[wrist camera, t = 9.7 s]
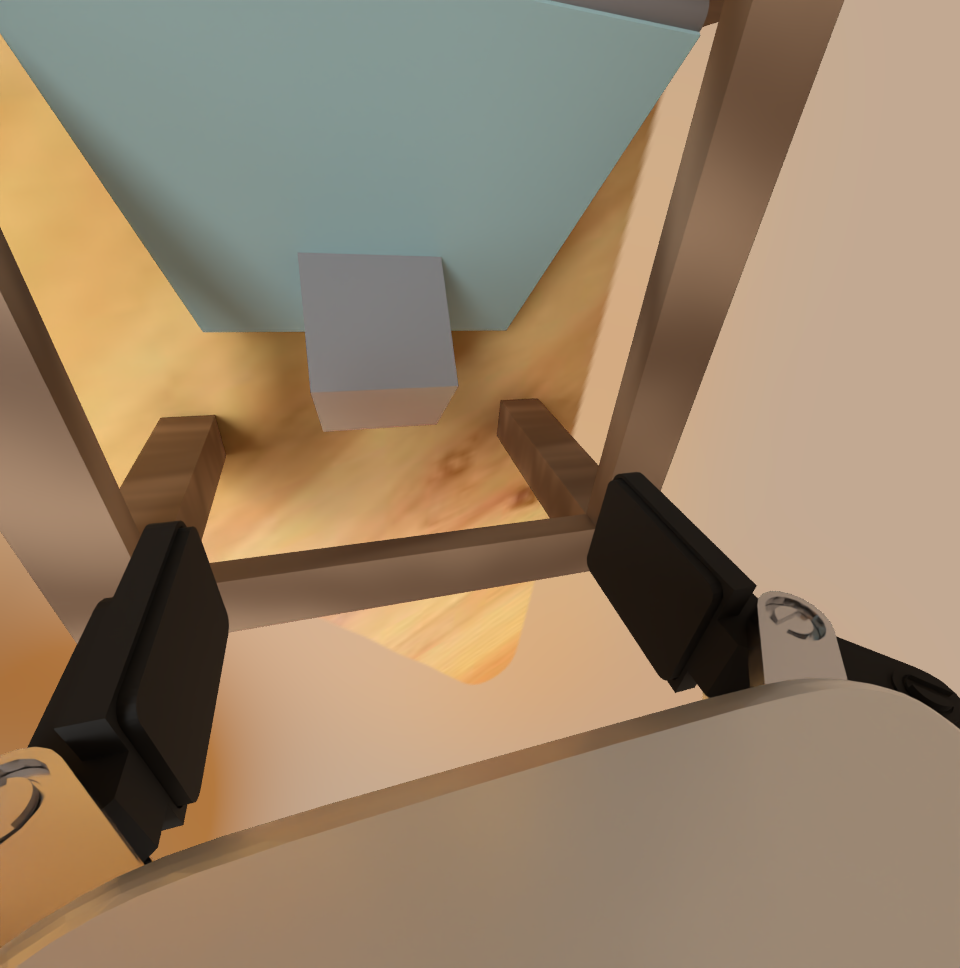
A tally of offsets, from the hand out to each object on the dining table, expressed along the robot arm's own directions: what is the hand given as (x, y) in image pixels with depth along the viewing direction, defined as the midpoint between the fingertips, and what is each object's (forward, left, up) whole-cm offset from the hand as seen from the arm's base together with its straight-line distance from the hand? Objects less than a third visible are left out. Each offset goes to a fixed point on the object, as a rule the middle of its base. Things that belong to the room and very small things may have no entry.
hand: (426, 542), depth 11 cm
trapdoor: (-6, 0, -10) cm, 12 cm away
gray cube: (-3, 0, -12) cm, 13 cm away
